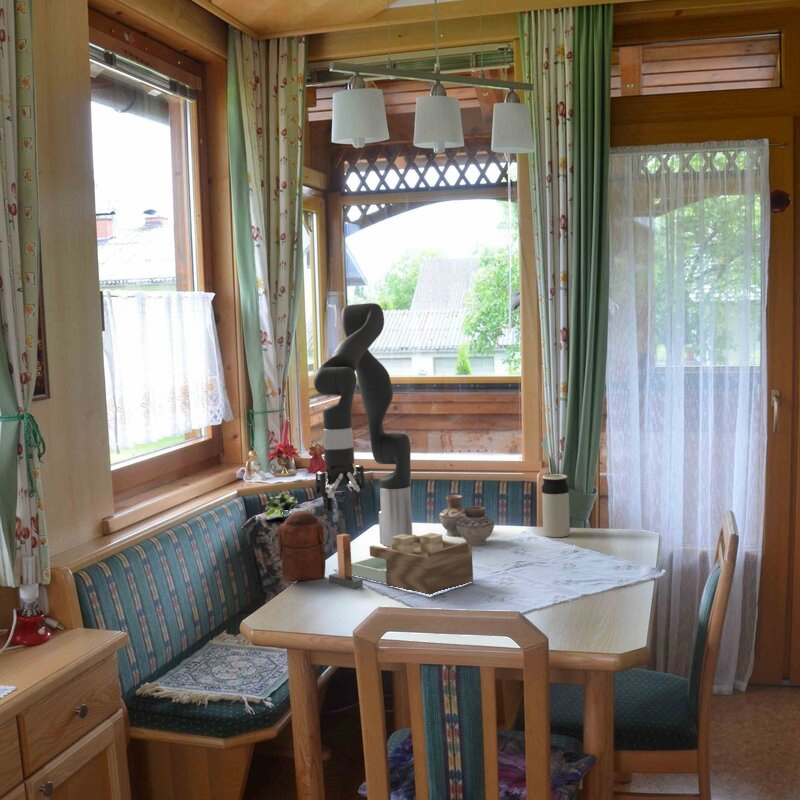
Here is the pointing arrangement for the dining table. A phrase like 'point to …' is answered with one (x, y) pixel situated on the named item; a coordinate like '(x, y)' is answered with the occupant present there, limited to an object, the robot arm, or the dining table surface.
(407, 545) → the birch block
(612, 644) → the dining table surface
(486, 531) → the pottery
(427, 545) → the birch block
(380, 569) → the sage green tray
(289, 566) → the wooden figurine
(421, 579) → the wooden box
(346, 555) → the scraper
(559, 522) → the travel mug
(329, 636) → the dining table surface
